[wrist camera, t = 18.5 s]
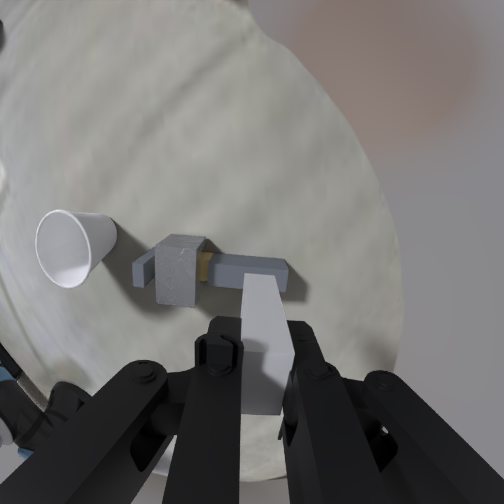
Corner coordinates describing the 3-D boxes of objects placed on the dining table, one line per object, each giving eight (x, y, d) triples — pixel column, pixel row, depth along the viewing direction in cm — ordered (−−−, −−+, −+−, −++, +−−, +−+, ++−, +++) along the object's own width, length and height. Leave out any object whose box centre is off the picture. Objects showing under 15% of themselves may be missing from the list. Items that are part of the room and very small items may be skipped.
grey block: (170, 283, 39) (156, 303, 32) (171, 233, 37) (154, 245, 30) (203, 286, 39) (194, 308, 32) (205, 236, 37) (196, 249, 30)
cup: (102, 275, 39) (65, 302, 28) (68, 228, 37) (25, 243, 26) (141, 238, 38) (106, 259, 27) (103, 187, 36) (60, 192, 25)
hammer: (153, 266, 39) (133, 286, 31) (153, 247, 38) (131, 263, 30) (281, 278, 39) (288, 302, 32) (284, 259, 39) (292, 278, 31)
